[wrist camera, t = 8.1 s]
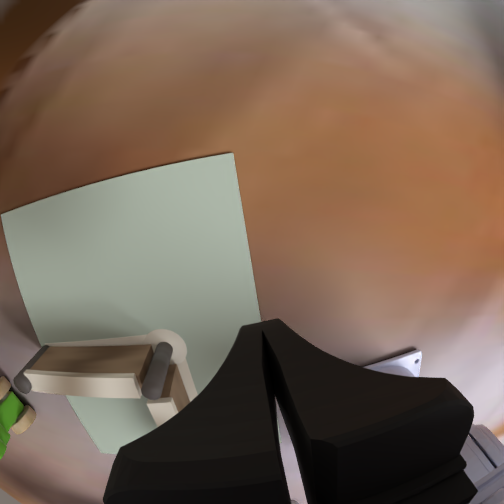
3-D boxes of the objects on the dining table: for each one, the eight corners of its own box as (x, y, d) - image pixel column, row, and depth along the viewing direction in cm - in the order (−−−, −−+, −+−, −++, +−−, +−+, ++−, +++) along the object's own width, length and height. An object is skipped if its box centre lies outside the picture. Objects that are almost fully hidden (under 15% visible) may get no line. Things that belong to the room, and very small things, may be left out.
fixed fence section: (211, 444, 23) (210, 489, 18) (194, 445, 23) (190, 489, 18) (173, 338, 20) (160, 383, 15) (152, 341, 20) (135, 385, 15)
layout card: (281, 441, 24) (281, 443, 24) (102, 451, 23) (101, 453, 23) (232, 153, 18) (233, 152, 18) (2, 214, 17) (0, 214, 17)
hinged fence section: (150, 341, 20) (133, 382, 15) (156, 360, 20) (141, 403, 16) (39, 343, 19) (10, 375, 15) (46, 360, 20) (19, 393, 15)
